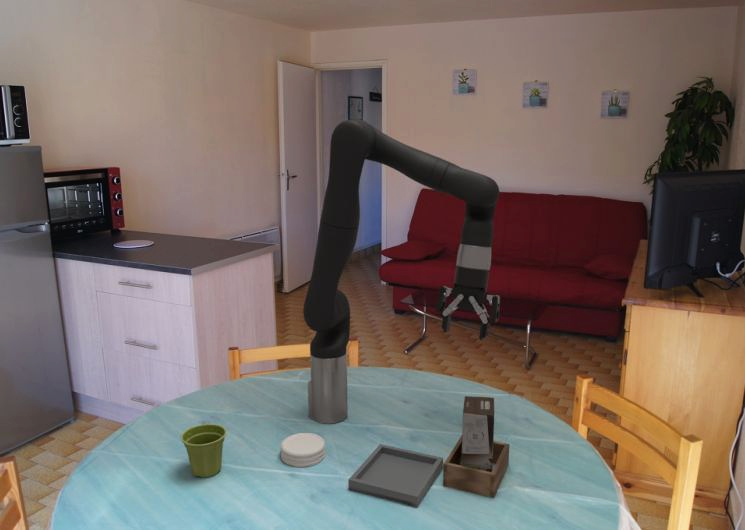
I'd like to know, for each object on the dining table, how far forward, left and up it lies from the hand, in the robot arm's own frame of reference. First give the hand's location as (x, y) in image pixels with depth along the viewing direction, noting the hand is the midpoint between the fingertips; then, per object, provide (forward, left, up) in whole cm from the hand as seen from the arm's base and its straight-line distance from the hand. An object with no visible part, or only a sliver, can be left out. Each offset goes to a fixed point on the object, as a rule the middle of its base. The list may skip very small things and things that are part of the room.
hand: (463, 335), depth 139 cm
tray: (-8, -21, -26) cm, 34 cm away
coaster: (-31, -21, -27) cm, 46 cm away
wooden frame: (+7, -13, -26) cm, 30 cm away
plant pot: (-47, -35, -26) cm, 64 cm away
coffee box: (+7, -13, -26) cm, 30 cm away
